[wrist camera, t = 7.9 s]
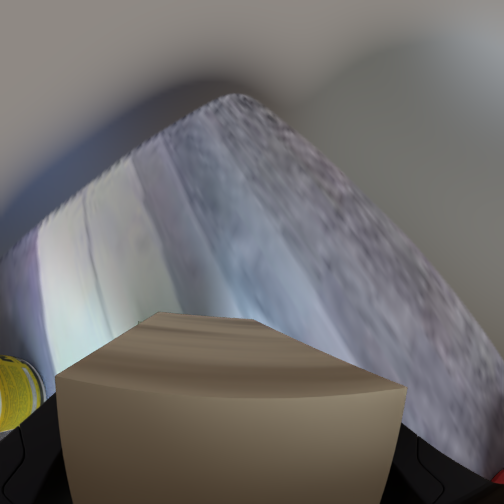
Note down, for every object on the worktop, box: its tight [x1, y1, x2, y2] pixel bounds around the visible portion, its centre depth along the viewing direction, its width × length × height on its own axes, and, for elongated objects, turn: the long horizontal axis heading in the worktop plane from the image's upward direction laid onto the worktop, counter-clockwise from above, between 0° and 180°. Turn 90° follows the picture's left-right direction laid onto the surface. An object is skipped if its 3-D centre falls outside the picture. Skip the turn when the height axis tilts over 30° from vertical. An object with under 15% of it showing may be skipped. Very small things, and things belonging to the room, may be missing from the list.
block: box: [55, 312, 407, 504], centre depth 10 cm, size 5×5×13 cm
